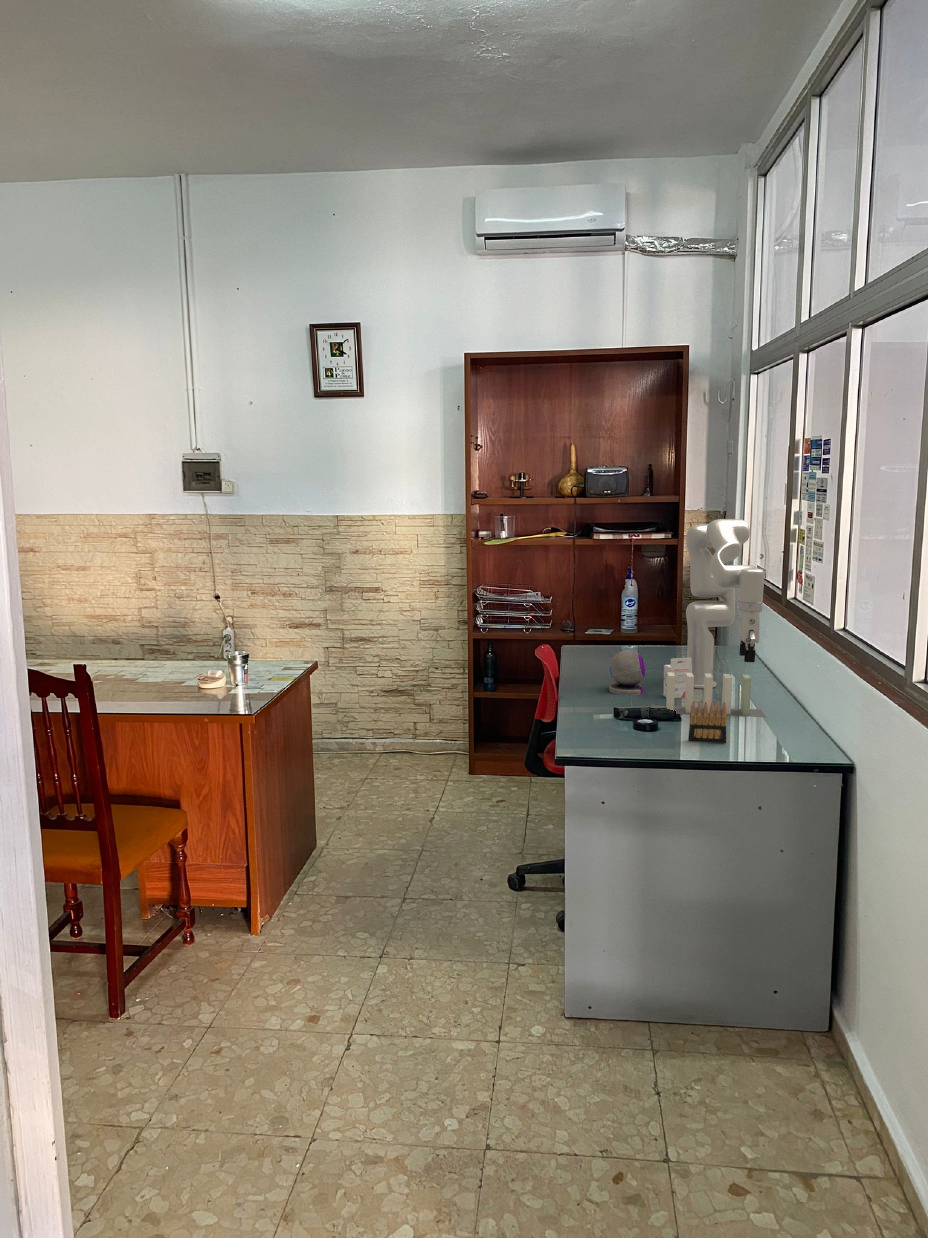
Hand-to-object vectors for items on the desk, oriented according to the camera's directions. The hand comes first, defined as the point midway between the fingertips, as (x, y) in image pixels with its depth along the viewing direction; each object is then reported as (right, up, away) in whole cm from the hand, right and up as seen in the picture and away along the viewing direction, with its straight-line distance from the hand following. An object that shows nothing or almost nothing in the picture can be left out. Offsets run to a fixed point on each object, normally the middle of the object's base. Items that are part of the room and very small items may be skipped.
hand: (746, 658), depth 295 cm
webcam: (-33, -14, +35) cm, 50 cm away
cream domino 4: (-6, -18, +3) cm, 19 cm away
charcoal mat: (-12, -18, +4) cm, 22 cm away
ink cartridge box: (-17, -15, +25) cm, 33 cm away
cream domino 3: (-12, -17, +4) cm, 21 cm away
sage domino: (0, -18, +2) cm, 18 cm away
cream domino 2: (-18, -17, +5) cm, 25 cm away
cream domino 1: (-24, -17, +6) cm, 30 cm away
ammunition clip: (-21, -23, -29) cm, 42 cm away
